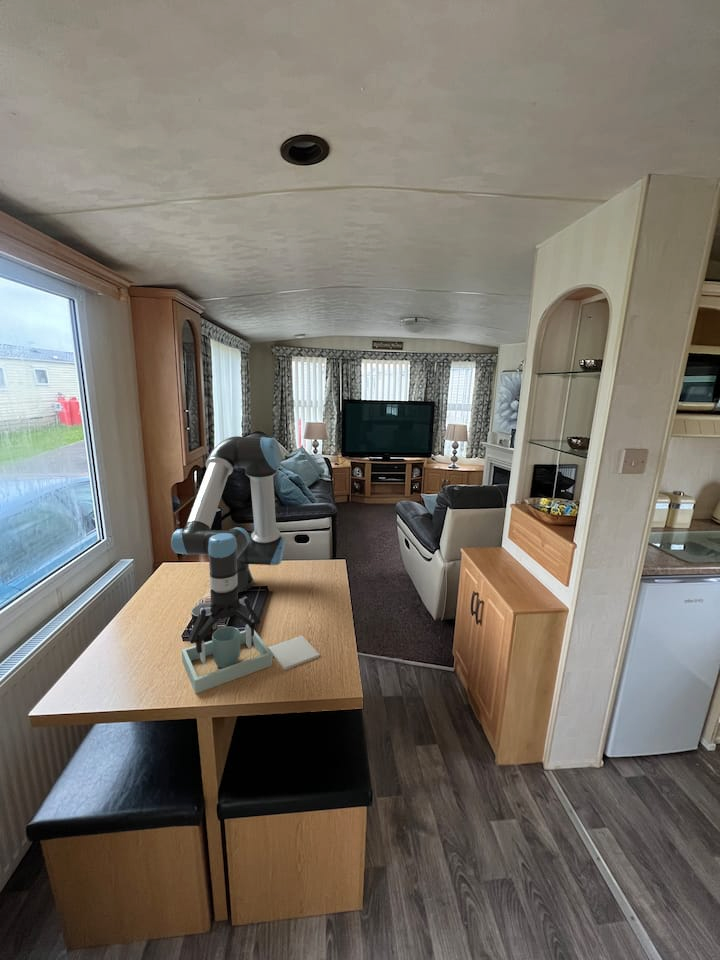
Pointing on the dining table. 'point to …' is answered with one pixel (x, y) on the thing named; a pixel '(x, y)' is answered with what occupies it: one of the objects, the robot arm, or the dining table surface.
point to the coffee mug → (194, 616)
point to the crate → (228, 672)
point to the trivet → (293, 652)
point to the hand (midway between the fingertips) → (226, 653)
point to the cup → (226, 646)
